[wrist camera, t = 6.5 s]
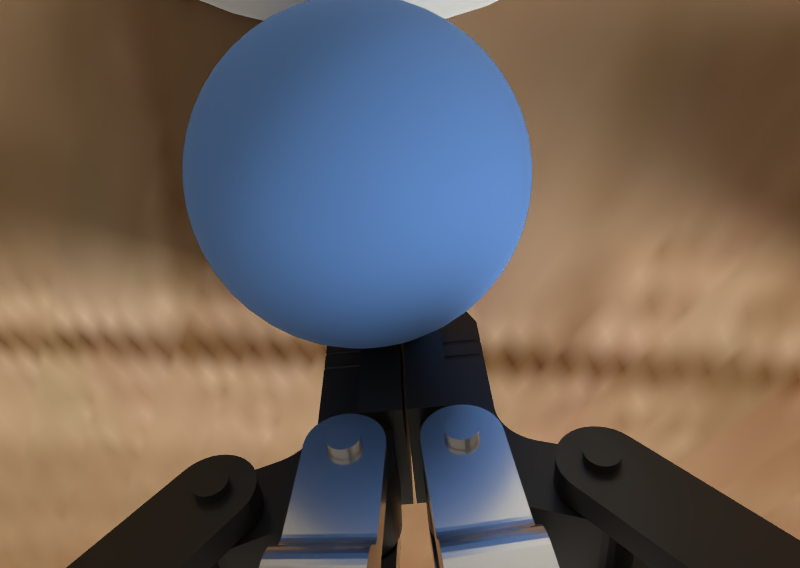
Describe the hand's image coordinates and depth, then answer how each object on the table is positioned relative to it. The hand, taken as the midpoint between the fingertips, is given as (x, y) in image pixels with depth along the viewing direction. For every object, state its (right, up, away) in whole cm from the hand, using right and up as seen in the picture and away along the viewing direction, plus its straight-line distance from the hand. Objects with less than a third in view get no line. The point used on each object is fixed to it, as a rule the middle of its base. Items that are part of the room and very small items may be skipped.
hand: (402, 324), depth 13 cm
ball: (-1, +3, -3) cm, 4 cm away
